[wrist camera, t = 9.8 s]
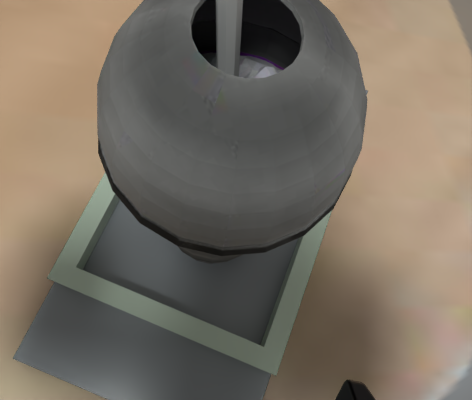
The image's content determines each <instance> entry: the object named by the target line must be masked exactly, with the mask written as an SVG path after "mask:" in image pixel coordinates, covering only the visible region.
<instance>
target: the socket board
mask: <svg viewBox="0 0 472 400" xmlns="http://www.w3.org/2000/svg"><path fill="white" fill-rule="evenodd" d="M365 91H366V95H367V92H368V91H367V90H365ZM331 212H332V211H330V212H329V213H328V214H327V215H326V216H325V217H324V218H323V219H322V220H321V221H320V222H318V223H317V224H316V225H315V226H314V227H313V228H312V229H311V230H310V231H309V232H308V233H306V234H305V235H304V236H303V237H300V238H298V239H296V240H293V241H291V242H289V243H286V244H284V245H282V246H279V247H277V248H275V249H272V250H270V251H268V252H265V253H255V254H243V255H241V256H239V257H237V258H234V259H232V260H230V261H227V262H223V263H213V264H208V263H204V262H200V261H196V260H195V259H193V258H191V257H190V256H188V255H186V254H185V253H183V252H182V251H181V250H180V249H179V247H178V246H177V245H175V244H173V243H172V242H170V241H168V240H167V239H165V238H163V237H162V236H160V235H158V234H157V233H155V232H153V231H152V230H150V229H148V228H147V227H145V226H143V225H142V224H140V223H139V222H138V221H137V219H136V218H135V217H134V216H133V215H132V213H131V212H130V211H129V210H128V209H127V207H126V206H125V205H124V204H123V203H122V202H121V200H120V199H119V198H118V197H117V196H116V194H115V193H114V192H113V191H112V188H111V186H110V183H109V180H108V178H107V175H106V172H105V174H104V176H103V177H102V179H101V181H100V183H99V185H98V187H97V188H96V190H95V192H94V194H93V196H92V197H91V199H90V201H89V203H88V205H87V206H86V208H85V210H84V212H83V214H82V215H81V217H80V219H79V221H78V223H77V225H76V226H75V228H74V230H73V232H72V234H71V235H70V237H69V239H68V241H67V243H66V244H65V246H64V248H63V250H62V252H61V254H60V255H59V257H58V259H57V261H56V263H55V264H54V266H53V268H52V270H51V272H50V273H49V275H48V277H47V279H50V280H52V281H54V284H53V286H52V287H51V289H50V291H49V293H48V295H47V297H46V298H45V300H44V302H43V304H42V306H41V308H40V309H39V311H38V313H37V315H36V317H35V319H34V320H33V322H32V324H31V326H30V328H29V330H28V331H27V333H26V335H25V337H24V339H23V341H22V342H21V344H20V346H19V348H18V350H17V352H16V354H15V355H14V357H13V359H15V360H17V361H20V362H22V363H24V364H27V365H29V366H31V367H34V368H36V369H38V370H41V371H43V372H45V373H47V374H50V375H52V376H54V377H57V378H59V379H61V380H64V381H66V382H68V383H71V384H73V385H75V386H78V387H80V388H82V389H85V390H87V391H89V392H92V393H94V394H96V395H98V396H101V397H103V398H105V399H108V400H262V399H263V396H264V393H265V391H266V388H267V385H268V382H269V379H270V376H271V374H273V375H275V376H276V375H277V372H278V369H279V366H280V363H281V360H282V357H283V354H284V351H285V348H286V345H287V342H288V339H289V336H290V333H291V330H292V327H293V324H294V321H295V318H296V316H297V313H298V310H299V307H300V304H301V301H302V298H303V295H304V292H305V289H306V286H307V283H308V280H309V277H310V274H311V271H312V268H313V265H314V262H315V259H316V256H317V253H318V250H319V247H320V244H321V241H322V238H323V235H324V233H325V230H326V227H327V224H328V221H329V218H330V215H331Z"/></svg>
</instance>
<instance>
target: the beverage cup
mask: <svg viewBox="0 0 472 400" xmlns="http://www.w3.org/2000/svg"><path fill="white" fill-rule="evenodd" d="M366 109H367V96H366V91H365V87H364V82H363V78H362V73H361V68H360V64H359V59H358V55H357V52H356V50H355V49H354V47H353V45H352V43H351V42H350V40H349V38H348V37H347V35H346V33H345V31H344V30H343V28H342V26H341V25H340V23H339V21H338V20H337V18H336V17H335V15H334V14H333V13H332V12H331V11H330V10H329V9H328V8H327V7H326V6H325V5H323V4H322V3H321V2H320V1H319V0H144V1H143V2H142V3H141V4H140V5H139V6H138V8H137V9H136V10H135V11H134V12H133V13H132V14H131V16H130V17H129V18H128V19H127V20H126V21H125V23H124V24H123V25H122V26H121V28H120V29H119V31H118V32H117V33H116V35H115V36H114V39H113V41H112V44H111V47H110V49H109V52H108V55H107V57H106V60H105V62H104V65H103V68H102V70H101V74H100V77H99V80H98V84H97V124H98V153H99V156H100V159H101V162H102V164H103V167H104V170H105V172H106V175H107V178H108V180H109V183H110V186H111V188H112V191H113V192H114V193H115V194H116V196H117V197H118V198H119V199H120V200H121V202H122V203H123V204H124V205H125V206H126V207H127V209H128V210H129V211H130V212H131V213H132V215H133V216H134V217H135V218H136V219H137V221H138V222H139V223H140V224H142V225H143V226H145V227H147V228H148V229H150V230H152V231H153V232H155V233H157V234H158V235H160V236H162V237H163V238H165V239H167V240H168V241H170V242H172V243H173V244H175V245H177V246H178V247H179V249H180V250H181V251H182V252H183V253H185V254H186V255H188V256H190V257H191V258H193V259H195V260H196V261H200V262H204V263H208V264H213V263H223V262H227V261H230V260H232V259H234V258H237V257H239V256H241V255H243V254H255V253H265V252H268V251H270V250H272V249H275V248H277V247H279V246H282V245H284V244H286V243H289V242H291V241H293V240H296V239H298V238H300V237H303V236H304V235H305V234H306V233H308V232H309V231H310V230H311V229H312V228H313V227H314V226H315V225H316V224H317V223H318V222H320V221H321V220H322V219H323V218H324V217H325V216H326V215H327V214H328V213H329V212H330V211H332V210H333V208H334V206H335V204H336V203H337V201H338V199H339V197H340V195H341V193H342V191H343V189H344V187H345V185H346V183H347V181H348V180H349V178H350V176H351V173H352V169H353V167H354V165H355V163H356V161H357V159H358V156H359V154H360V151H361V149H362V141H363V133H364V126H365V118H366Z"/></svg>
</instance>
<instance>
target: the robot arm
mask: <svg viewBox="0 0 472 400" xmlns="http://www.w3.org/2000/svg"><path fill="white" fill-rule="evenodd" d="M335 400H375V398H374V397H373V395H372V394H371V393H370V391H369V390H368V388H367V387H366V386H365V385H364V384H363V383H362V382H358V381H353V380H346V381H345V382H344V384H343V386H342V388H341V389H340V391H339V393H338V395H337V397H336V399H335Z"/></svg>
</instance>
